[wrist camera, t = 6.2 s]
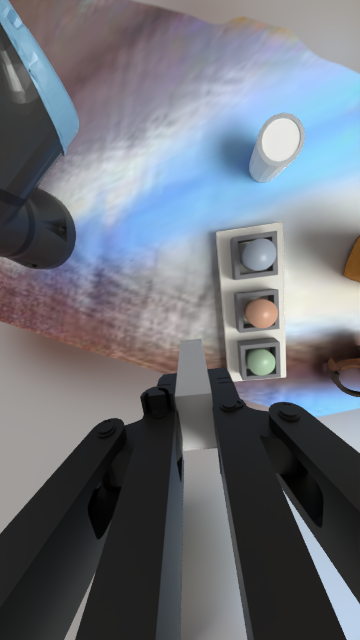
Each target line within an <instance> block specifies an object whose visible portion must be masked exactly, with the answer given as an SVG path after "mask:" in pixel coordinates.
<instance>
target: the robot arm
mask: <svg viewBox="0 0 360 640" xmlns="http://www.w3.org/2000/svg"><path fill="white" fill-rule="evenodd" d="M78 129H79V121H78V116H77V112H76V109H75V107H74V105H73V103H72V101H71V99H70V97H69V95H68V93H67V91H66V89H65V87H64V86H63V84H62V82H61V80H60V79H59V77H58V75H57V74H56V72H55V70H54V69H53V67H52V65H51V64H50V62H49V61H48V59H47V57H46V56H45V54H44V53H43V51H42V49H41V48H40V46H39V45H38V43H37V42H36V40H35V39H34V37H33V36H32V34H31V33H30V31H29V30H28V28H27V27H26V26H25V25H24V24H23V23H22V21H21V19H20V17H19V16H18V14H17V13H16V12H15V10H14V8H13V7H12V5H11V4H10V2H9V0H0V256H2V257H6V258H8V259H10V260H13V261H15V262H17V263H19V264H21V265H23V266H26V267H29V268H34V269H52V268H56V267H58V266H60V265H62V264H63V263H64V262H65V261H66V260H67V259H68V258H69V257H70V255H71V253H72V251H73V249H74V246H75V240H76V231H75V225H74V222H73V219H72V217H71V215H70V213H69V211H68V210H67V208H66V207H65V206H64V204H63V203H62V202H61V201H60V200H58V199H57V198H56V197H54V196H52V195H51V194H49V193H47V192H45V191H43V190H41V189H38V188H37V187H38V186H39V185H40V183H41V182H42V181H43V179H44V178H45V177H46V176H47V174H48V173H49V172H50V170H51V169H52V168H53V166H54V165H55V164H56V162H57V161H58V160H59V159H60V157H61V156H62V155H63V156H64V155H65V154H66V152H67V147H68V146H69V144H70V143H71V142H72V140H73V139H74V137H75V136H76V134H77V132H78ZM140 398H141V402H142V407H143V412H144V416H143V418H142V419H141V420H139V421H137V422H134V423H131V424H128V425H125V426H124V422H123V421H122V420H121V419H117V418H113V419H108V420H105V421H103V422H101V423H99V424H98V425H96V426H95V427H94V428H93V429H92V430H91V431H90V432H89V434H88V435H87V436H86V437H85V438H84V440H82V442H81V443H80V444H79V445H78V446H77V447H76V448H75V449H74V451H73V452H72V453H71V454H70V455H69V456H68V458H67V459H66V460H65V461H64V462H63V463H62V464H61V466H60V467H59V468H58V469H57V470H56V471H55V472H54V473H53V475H52V476H51V477H50V478H49V479H48V480H47V481H46V482H45V484H44V485H43V486H42V487H41V488H40V489H39V490H38V492H37V493H36V494H35V495H34V496H33V497H32V498H31V499H30V501H29V502H28V503H27V504H26V505H25V506H24V507H23V509H22V510H21V511H20V512H19V513H18V514H17V515H16V516H15V518H14V519H13V520H12V521H11V522H10V523H9V524H8V526H7V527H6V528H5V529H4V530H3V531H2V533H1V534H0V640H64V639H65V636H66V634H67V632H68V630H69V628H70V626H71V623H72V621H73V619H74V617H75V615H76V613H77V610H78V608H79V606H80V604H81V602H82V600H83V598H84V595H85V593H86V591H87V589H88V587H89V585H90V582H91V580H92V578H93V576H94V574H95V576H94V580H93V583H92V586H91V590H90V593H89V596H88V599H87V603H86V606H85V609H84V612H83V616H82V619H81V622H80V626H79V629H78V632H77V636H76V639H75V640H181V639H180V636H181V589H182V534H183V484H184V460H183V454H182V447H183V449H184V451H186V450H198V449H210V448H218V456H219V465H220V474H221V476H222V482H223V489H224V495H225V501H226V508H227V514H228V520H229V526H230V532H231V538H232V545H233V552H234V557H235V564H236V570H237V577H238V583H239V589H240V595H241V602H242V607H243V614H244V620H245V626H246V633H247V639H248V640H346V637H345V635H344V632H343V630H342V628H341V625H340V623H339V621H338V618H337V616H336V614H335V611H334V609H333V607H332V604H331V602H330V600H329V597H328V595H327V593H326V590H325V588H324V586H323V583H322V581H321V579H320V577H319V574H318V572H317V569H316V567H315V565H314V562H313V560H312V558H311V556H310V553H309V551H308V548H307V546H306V544H305V541H304V539H303V537H302V534H301V532H300V530H299V527H298V525H297V523H296V520H295V518H294V516H293V513H292V511H291V509H290V506H289V504H288V502H287V499H286V497H285V495H284V492H285V494H286V495H287V496H288V498H289V499H290V501H291V502H292V504H293V505H294V507H295V508H296V510H297V511H298V513H299V514H300V516H301V517H302V519H303V520H304V522H305V523H306V525H307V526H308V528H309V529H310V531H311V532H312V534H313V535H314V537H315V538H316V539H317V541H318V542H319V544H320V545H321V547H322V548H323V550H324V551H325V553H326V554H327V556H328V557H329V559H330V560H331V562H332V563H333V565H334V566H335V568H336V569H337V571H338V572H339V574H340V575H341V576H342V578H343V580H344V581H345V583H346V584H347V586H348V587H349V588H350V590H351V591H352V593H353V594H354V596H355V597H356V599H357V600H358V602H359V603H360V453H359V452H357V451H356V450H355V449H354V448H352V447H351V446H350V445H349V444H347V443H346V442H345V441H343V440H342V439H341V438H340V437H339V436H337V435H336V434H335V433H334V432H332V431H331V430H330V429H329V428H327V427H326V426H325V425H324V424H322V423H321V422H320V421H319V420H317V419H316V418H315V417H314V416H312V415H311V414H310V413H309V412H307V411H306V410H305V409H303V408H302V407H300V406H298V405H296V404H293V403H288V402H278V403H275V404H273V405H271V406H270V408H269V412H268V411H260V410H255V409H252V408H249V407H248V406H246V404H245V403H244V401H243V400H241V399H240V398H239V395H238V393H237V390H236V388H235V385H234V383H233V380H232V378H231V376H230V373H229V371H227V370H226V369H225V368H215V369H207V366H206V361H205V356H204V351H203V346H202V340H201V339H195V340H186V341H181V343H180V353H179V362H178V372H177V373H174V374H165V375H163V376H162V377H161V378H160V379H159V381H158V384H157V386H156V387H152V388H150V389H148V390H146V391H145V392H143V394H142V395H141V397H140ZM282 489H283V490H282ZM283 491H284V492H283ZM95 572H96V573H95Z"/></svg>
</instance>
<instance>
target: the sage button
mask: <svg viewBox="0 0 360 640" xmlns="http://www.w3.org/2000/svg"><path fill="white" fill-rule="evenodd" d="M245 359H246V363H247V365H248V366H249V368H250V370H251V371H252V372H253V373H254V374H256V375H267V374H269V373H270V372H272V371H273V369H274V367H275V364H276V362H275V358H274V356H273V355H272V354H271V353H270V352H269V351H268V350H267V349H266V348H254V349H249V350H248V351H247V352H246V354H245Z"/></svg>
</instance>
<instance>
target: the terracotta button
mask: <svg viewBox="0 0 360 640" xmlns="http://www.w3.org/2000/svg"><path fill="white" fill-rule="evenodd" d="M244 315H245V318H246V319H247V321H248V322H250V323H251V324H252V325H253V326H255V327H257V328H267V327H270V326H271V325H273V324H274V322H275V321H276V319H277V317H278V310H277V307H276V306H275V304H274V303H272V302H271V301H268V300H265V299H261V298H256V299H253V300H251V301H249V302H248V303H247V305H246V306H245V309H244Z"/></svg>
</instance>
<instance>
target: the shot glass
mask: <svg viewBox="0 0 360 640" xmlns="http://www.w3.org/2000/svg"><path fill="white" fill-rule="evenodd" d="M304 141H305V134H304V127H303V125H302V123H301V121H300V120H299V119H298V118H297V117H295V116H294V115H293V114H288V113H280V114H277V115H274V116H272V117H271V118H270V119H268V120H267V121H266V122H265V123H264V125H263V127H262V128H261V130H260V132H259V135H258V138H257V141H256V144H255V147H254V150H253V153H252V156H251V159H250V164H249V172H250V174H251V176H252V178H253V179H254V180H256V181H257V182H261V183H265V182H269V181H271V180H272V179H273V178H275V177H276V176H277V175H278V174H279V173H280V172H281V171H283V170H284V169H285V168H286V167H287V166H288V165H289V164H290V163H291V162H293V161H294V160H295V159H296V158H297V156H298V155H299V153H300V152H301V150H302V148H303V144H304Z"/></svg>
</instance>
